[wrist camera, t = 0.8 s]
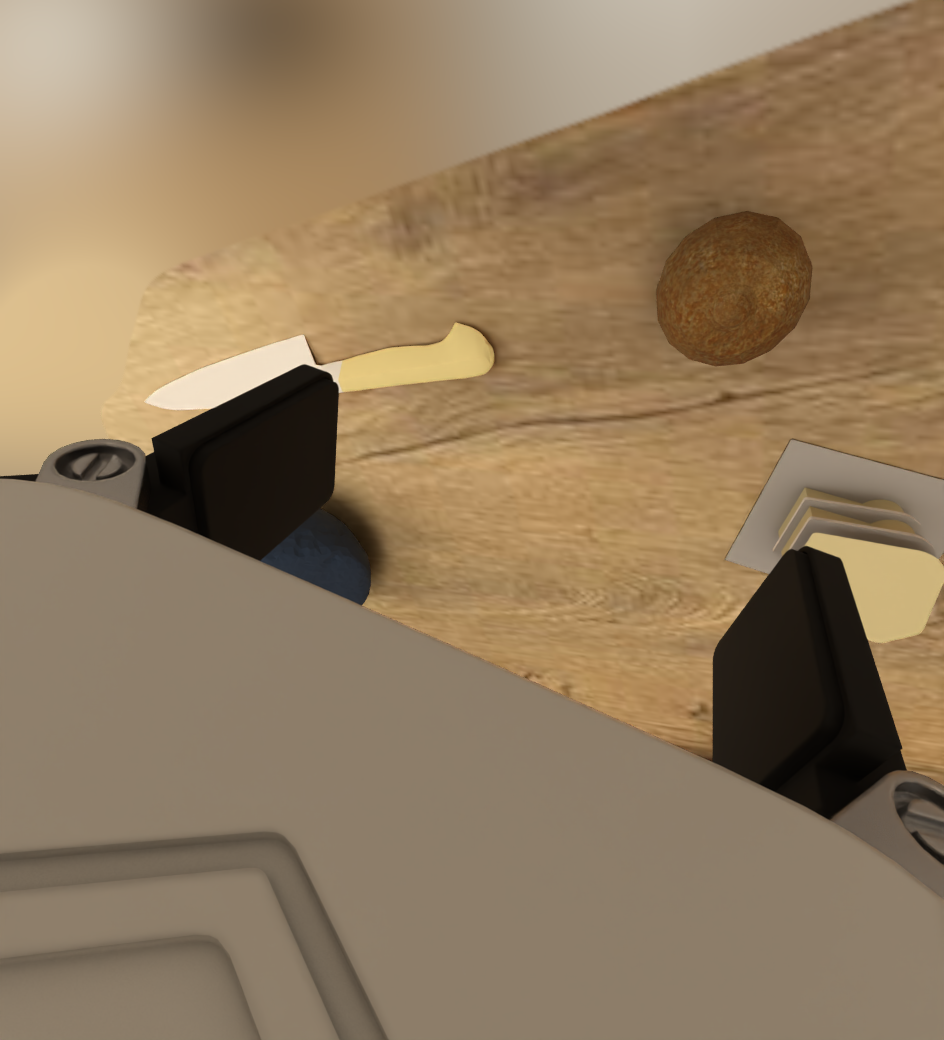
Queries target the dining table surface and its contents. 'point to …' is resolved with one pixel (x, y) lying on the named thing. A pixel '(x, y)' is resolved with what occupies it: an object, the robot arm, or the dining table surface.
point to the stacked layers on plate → (855, 532)
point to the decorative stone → (325, 557)
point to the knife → (330, 369)
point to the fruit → (734, 288)
